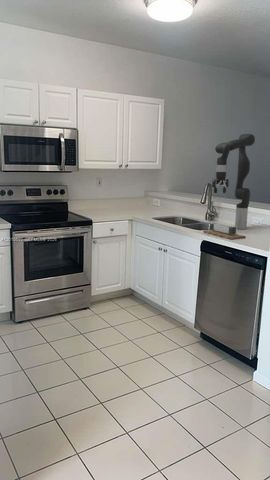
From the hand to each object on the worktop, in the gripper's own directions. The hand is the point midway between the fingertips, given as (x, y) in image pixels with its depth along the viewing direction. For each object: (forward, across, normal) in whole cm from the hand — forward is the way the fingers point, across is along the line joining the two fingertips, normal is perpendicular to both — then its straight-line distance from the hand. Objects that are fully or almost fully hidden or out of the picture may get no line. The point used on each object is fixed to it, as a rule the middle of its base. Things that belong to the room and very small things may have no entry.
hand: (219, 192), depth 293 cm
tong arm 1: (+28, -6, -13) cm, 31 cm away
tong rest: (+30, -5, -12) cm, 33 cm away
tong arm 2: (+28, -4, -13) cm, 31 cm away
